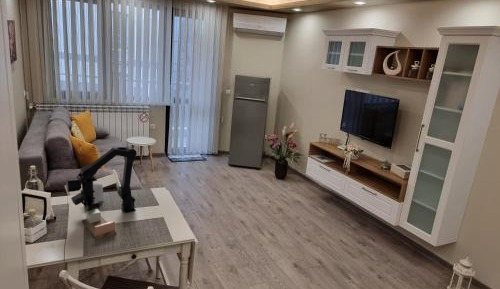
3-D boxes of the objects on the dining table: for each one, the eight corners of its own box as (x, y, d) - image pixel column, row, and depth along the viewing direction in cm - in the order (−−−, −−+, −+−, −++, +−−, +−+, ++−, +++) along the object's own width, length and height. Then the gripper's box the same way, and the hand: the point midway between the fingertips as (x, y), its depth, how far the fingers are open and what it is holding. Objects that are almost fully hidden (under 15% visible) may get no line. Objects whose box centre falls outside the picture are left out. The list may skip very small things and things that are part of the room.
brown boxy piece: (100, 217, 199) (99, 207, 197) (116, 233, 184) (116, 222, 182) (81, 222, 192) (81, 211, 190) (97, 239, 177) (96, 228, 175)
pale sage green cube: (97, 216, 196) (97, 208, 195) (100, 220, 193) (100, 212, 191) (86, 219, 192) (86, 211, 191) (89, 223, 189) (89, 215, 187)
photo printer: (102, 198, 222) (101, 180, 219) (103, 201, 219) (103, 183, 215) (85, 201, 216) (84, 183, 213) (86, 204, 213) (85, 185, 210)
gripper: (66, 186, 194) (68, 211, 198) (78, 198, 181) (79, 224, 185) (87, 182, 201) (88, 206, 205) (99, 193, 188) (101, 219, 193)
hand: (89, 214), depth 197 cm, fingers closed
